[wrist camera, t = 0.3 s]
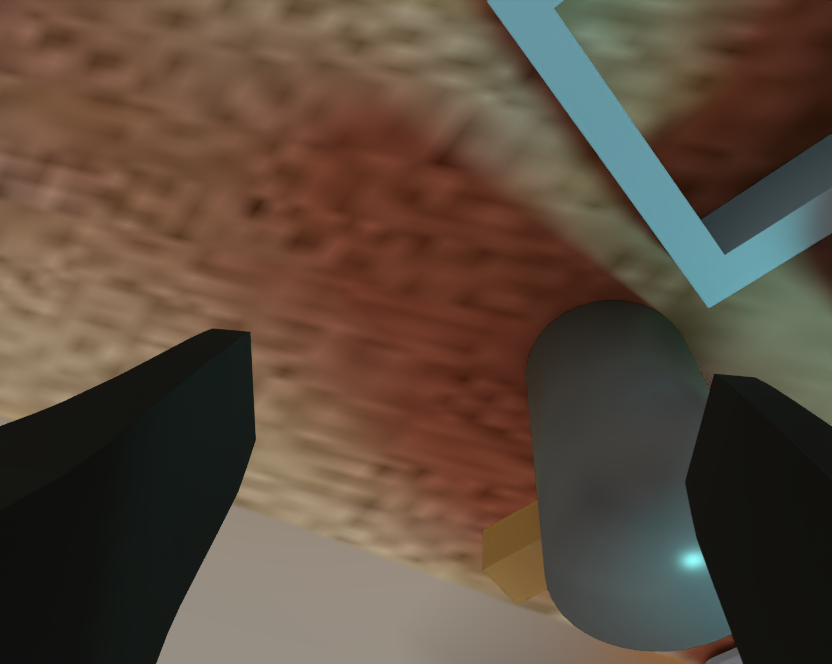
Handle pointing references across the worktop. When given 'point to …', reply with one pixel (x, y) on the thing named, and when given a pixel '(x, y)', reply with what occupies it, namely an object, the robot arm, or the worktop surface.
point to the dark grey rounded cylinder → (612, 483)
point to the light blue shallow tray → (652, 185)
